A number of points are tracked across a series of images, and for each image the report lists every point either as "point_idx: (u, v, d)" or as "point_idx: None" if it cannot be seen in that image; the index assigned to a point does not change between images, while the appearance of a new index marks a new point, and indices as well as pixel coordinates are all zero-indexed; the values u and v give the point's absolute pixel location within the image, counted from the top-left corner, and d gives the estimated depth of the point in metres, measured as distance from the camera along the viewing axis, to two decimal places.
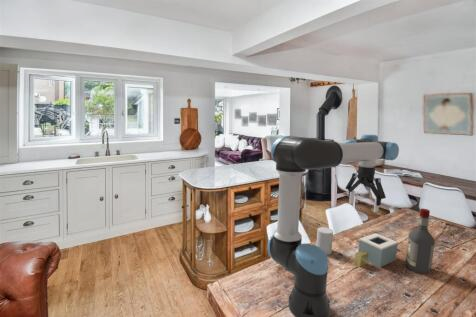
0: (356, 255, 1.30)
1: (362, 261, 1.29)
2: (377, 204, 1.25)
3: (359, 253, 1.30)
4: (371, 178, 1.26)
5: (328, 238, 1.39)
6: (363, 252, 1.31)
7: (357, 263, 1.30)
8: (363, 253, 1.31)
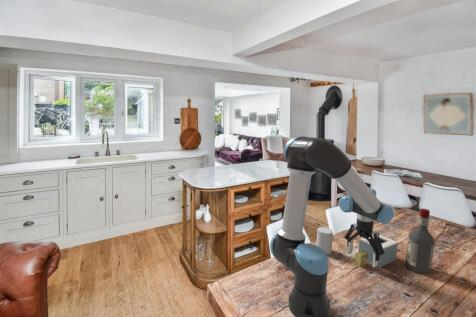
0: (356, 255, 1.30)
1: (362, 261, 1.29)
2: (376, 259, 1.24)
3: (359, 253, 1.30)
4: (370, 233, 1.25)
5: (327, 238, 1.39)
6: (363, 252, 1.31)
7: (357, 263, 1.30)
8: (363, 253, 1.31)
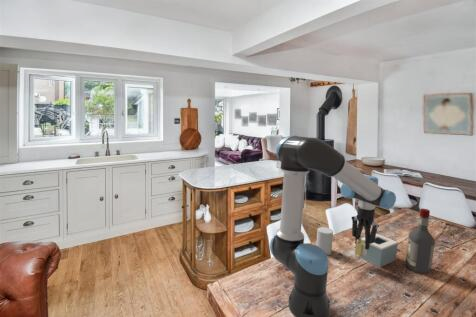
0: (357, 244, 1.29)
1: None
2: (366, 248, 1.27)
3: (360, 242, 1.29)
4: (370, 221, 1.24)
5: (328, 238, 1.39)
6: (364, 241, 1.30)
7: (357, 252, 1.29)
8: (363, 242, 1.30)
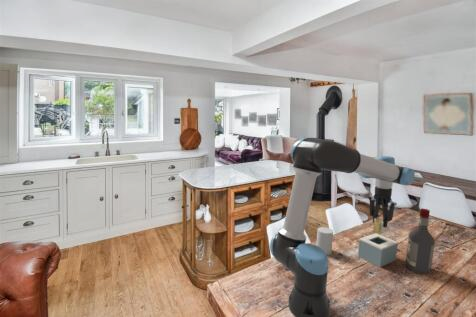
0: (375, 223, 1.33)
1: None
2: (384, 226, 1.32)
3: (378, 221, 1.34)
4: (388, 200, 1.28)
5: (328, 238, 1.39)
6: (381, 220, 1.35)
7: (376, 230, 1.33)
8: (381, 220, 1.34)
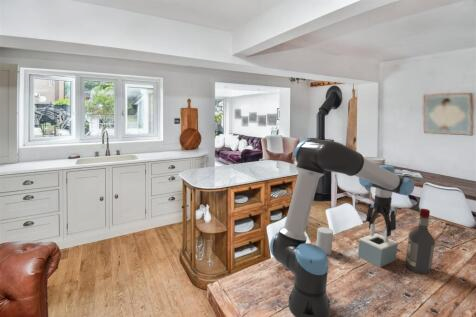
0: None
1: None
2: (387, 235, 1.31)
3: None
4: (388, 208, 1.29)
5: (327, 238, 1.39)
6: None
7: None
8: None
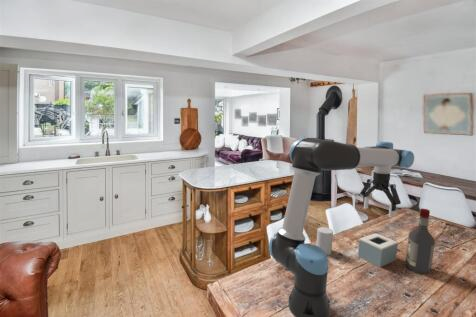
0: None
1: None
2: (392, 209, 1.28)
3: None
4: (386, 184, 1.29)
5: (328, 238, 1.39)
6: None
7: None
8: None
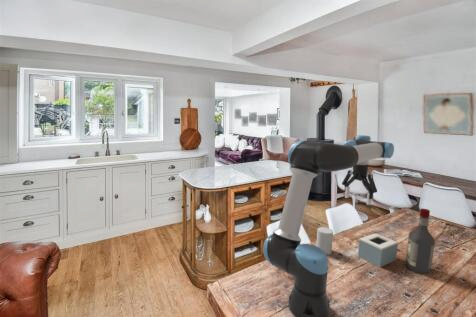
0: None
1: None
2: (370, 197, 1.39)
3: None
4: (364, 174, 1.41)
5: (328, 238, 1.39)
6: None
7: None
8: None
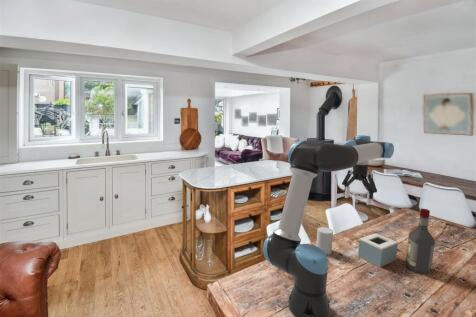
0: None
1: None
2: (370, 197, 1.39)
3: None
4: (364, 174, 1.41)
5: (328, 238, 1.39)
6: None
7: None
8: None
